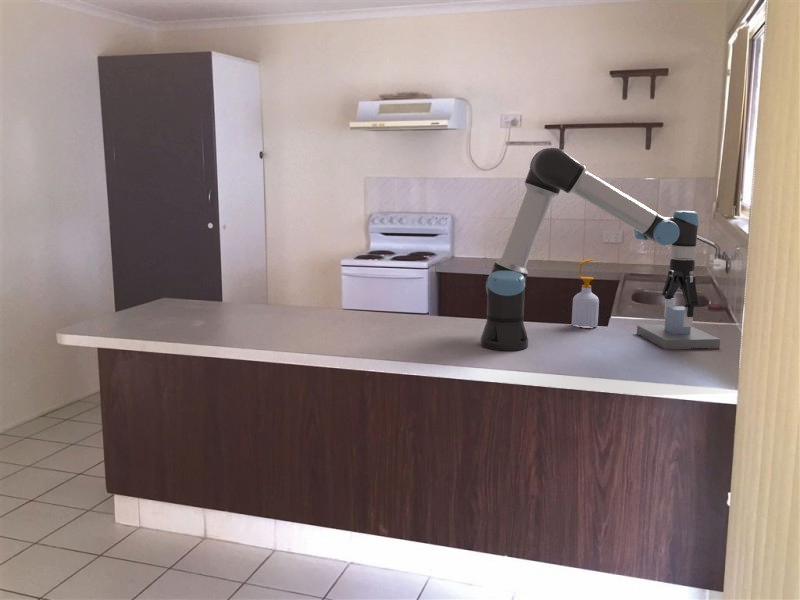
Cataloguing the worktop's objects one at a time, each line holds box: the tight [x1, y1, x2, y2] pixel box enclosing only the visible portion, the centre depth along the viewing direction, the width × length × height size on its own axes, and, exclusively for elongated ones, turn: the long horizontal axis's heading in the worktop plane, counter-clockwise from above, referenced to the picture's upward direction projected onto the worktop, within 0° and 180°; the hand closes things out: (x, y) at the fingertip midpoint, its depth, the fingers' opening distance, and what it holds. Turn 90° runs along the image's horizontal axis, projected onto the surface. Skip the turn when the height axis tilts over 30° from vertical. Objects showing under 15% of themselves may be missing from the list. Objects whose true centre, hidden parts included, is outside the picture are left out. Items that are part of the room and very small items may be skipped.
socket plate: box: [636, 324, 721, 350], centre depth 244 cm, size 18×22×3 cm
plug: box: [664, 305, 691, 334], centre depth 243 cm, size 6×6×10 cm
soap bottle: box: [571, 258, 600, 328], centre depth 263 cm, size 9×9×25 cm
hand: (677, 322), depth 243 cm, fingers open, 13 cm apart
